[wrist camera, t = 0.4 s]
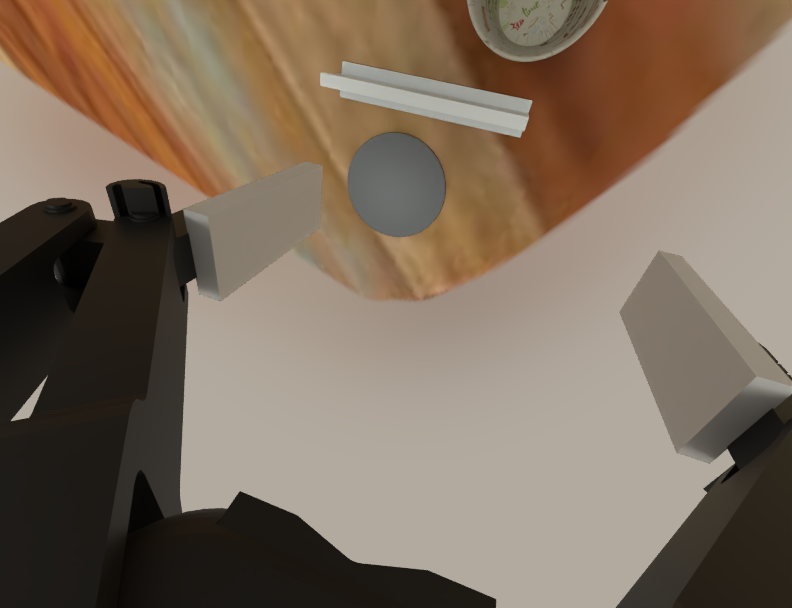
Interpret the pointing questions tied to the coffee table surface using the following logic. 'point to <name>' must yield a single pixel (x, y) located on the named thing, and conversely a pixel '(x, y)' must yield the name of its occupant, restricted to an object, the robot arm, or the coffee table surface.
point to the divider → (431, 98)
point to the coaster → (396, 184)
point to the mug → (532, 25)
